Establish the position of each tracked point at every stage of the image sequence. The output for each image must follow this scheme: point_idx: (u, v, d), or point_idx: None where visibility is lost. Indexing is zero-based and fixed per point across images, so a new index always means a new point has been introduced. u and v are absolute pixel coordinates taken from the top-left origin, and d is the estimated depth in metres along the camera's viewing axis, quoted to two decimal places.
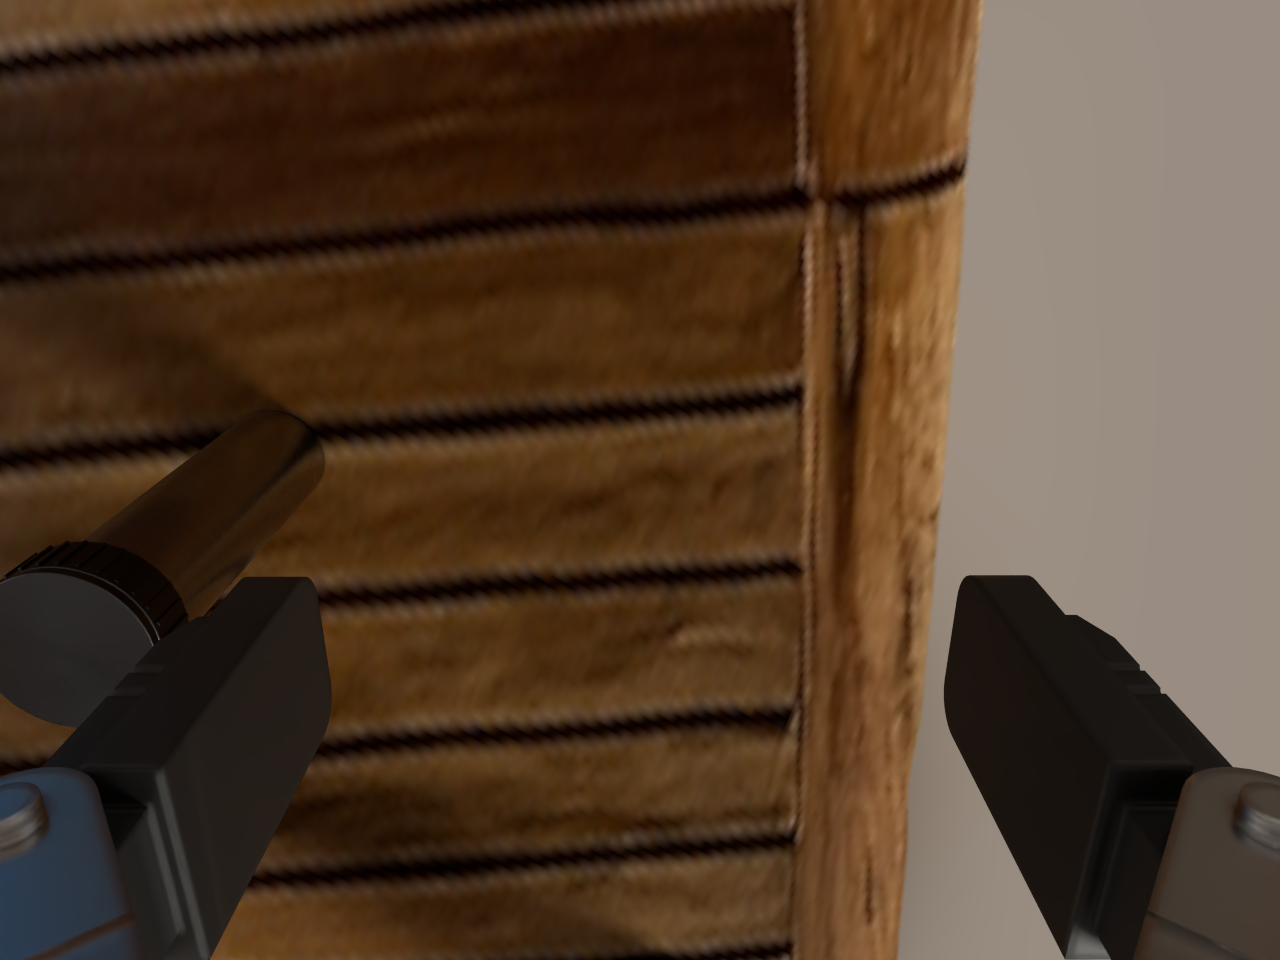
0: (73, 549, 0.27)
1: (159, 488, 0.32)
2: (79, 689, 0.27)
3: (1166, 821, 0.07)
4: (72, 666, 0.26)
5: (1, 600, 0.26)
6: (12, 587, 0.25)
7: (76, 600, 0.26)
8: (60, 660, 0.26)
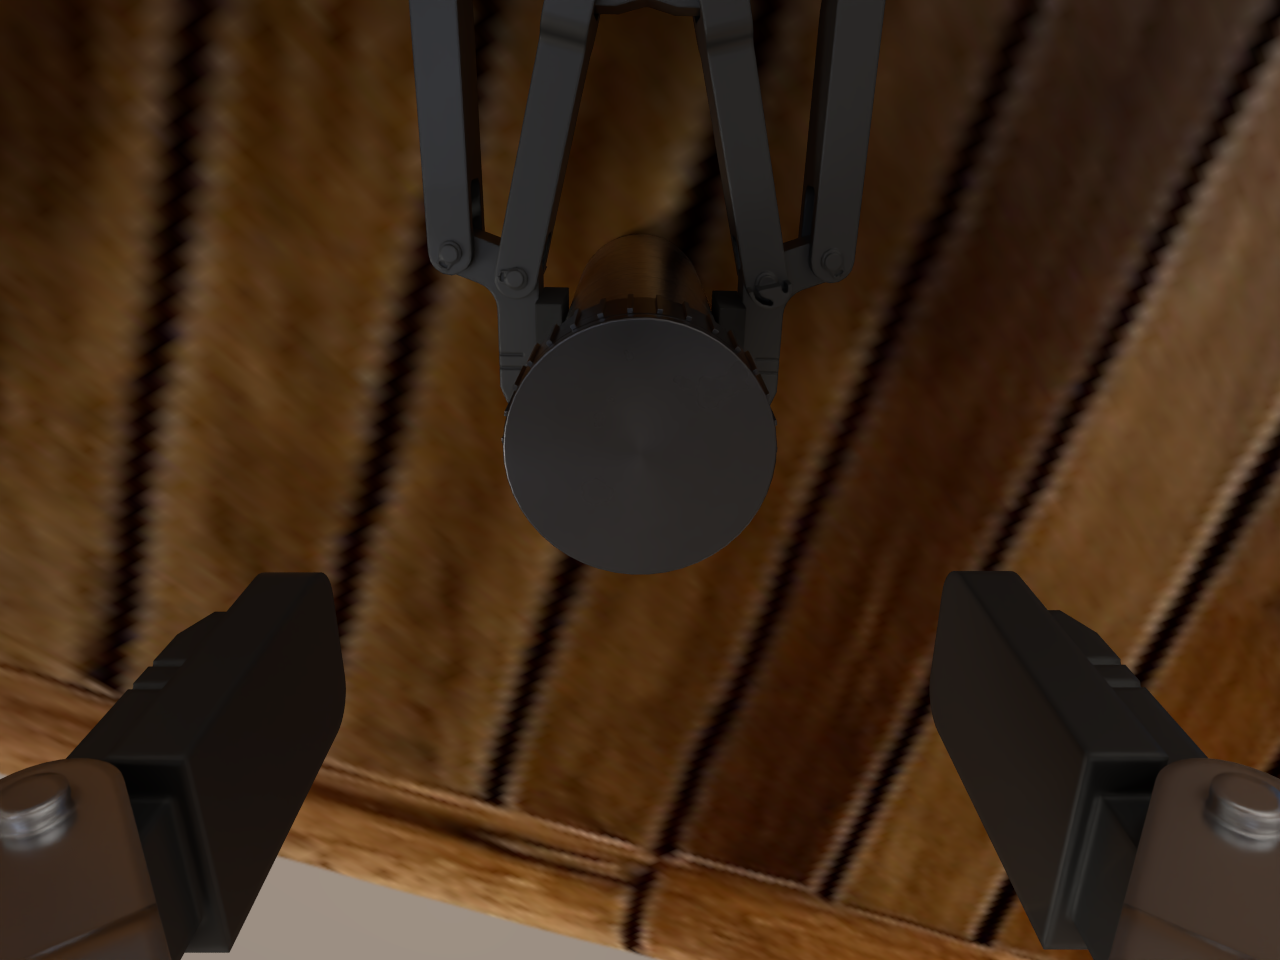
0: None
1: None
2: (577, 435, 0.17)
3: (1141, 812, 0.07)
4: (616, 450, 0.17)
5: (753, 427, 0.17)
6: (762, 453, 0.17)
7: (705, 518, 0.18)
8: (632, 441, 0.17)
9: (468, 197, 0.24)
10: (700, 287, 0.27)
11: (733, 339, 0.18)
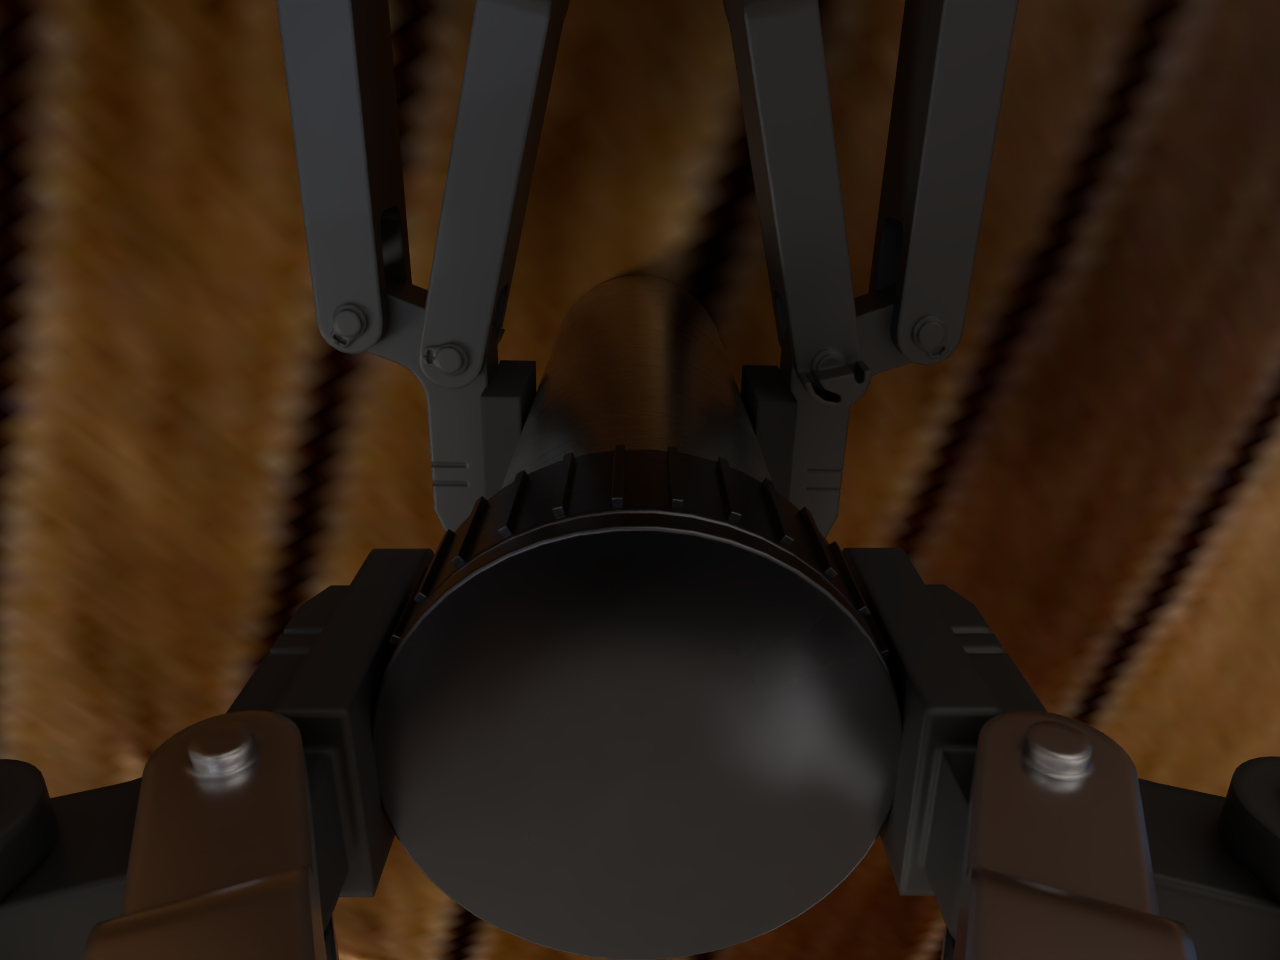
0: None
1: None
2: (515, 738, 0.09)
3: None
4: (591, 763, 0.09)
5: (860, 725, 0.09)
6: (876, 768, 0.09)
7: (762, 874, 0.10)
8: (622, 747, 0.09)
9: (374, 238, 0.16)
10: (725, 362, 0.19)
11: (816, 539, 0.09)
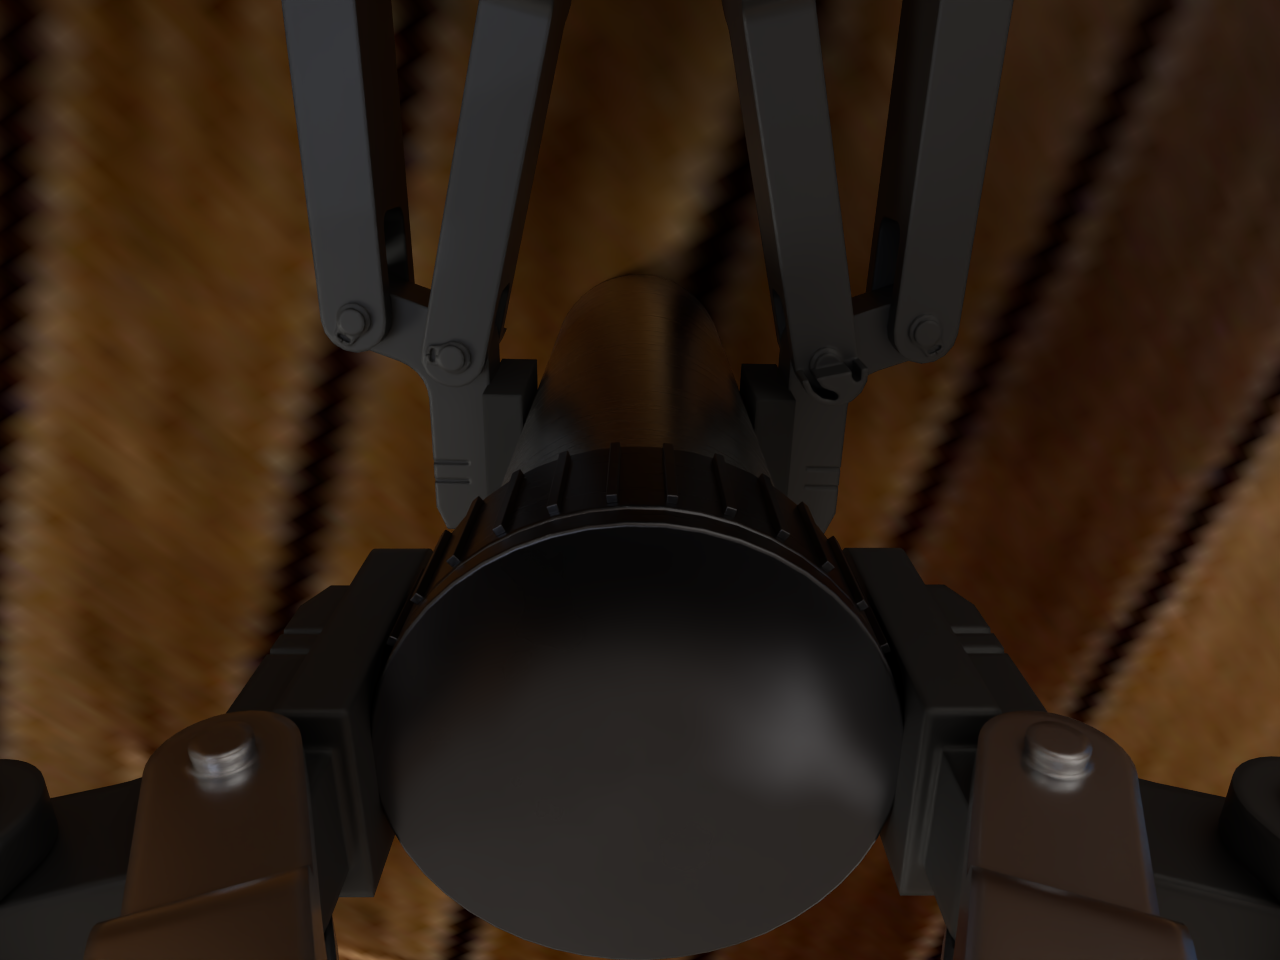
0: (814, 527, 0.09)
1: None
2: (569, 848, 0.09)
3: None
4: (617, 799, 0.09)
5: (650, 566, 0.08)
6: (713, 560, 0.08)
7: (815, 693, 0.09)
8: (608, 771, 0.09)
9: (378, 238, 0.16)
10: (724, 359, 0.19)
11: (503, 504, 0.09)
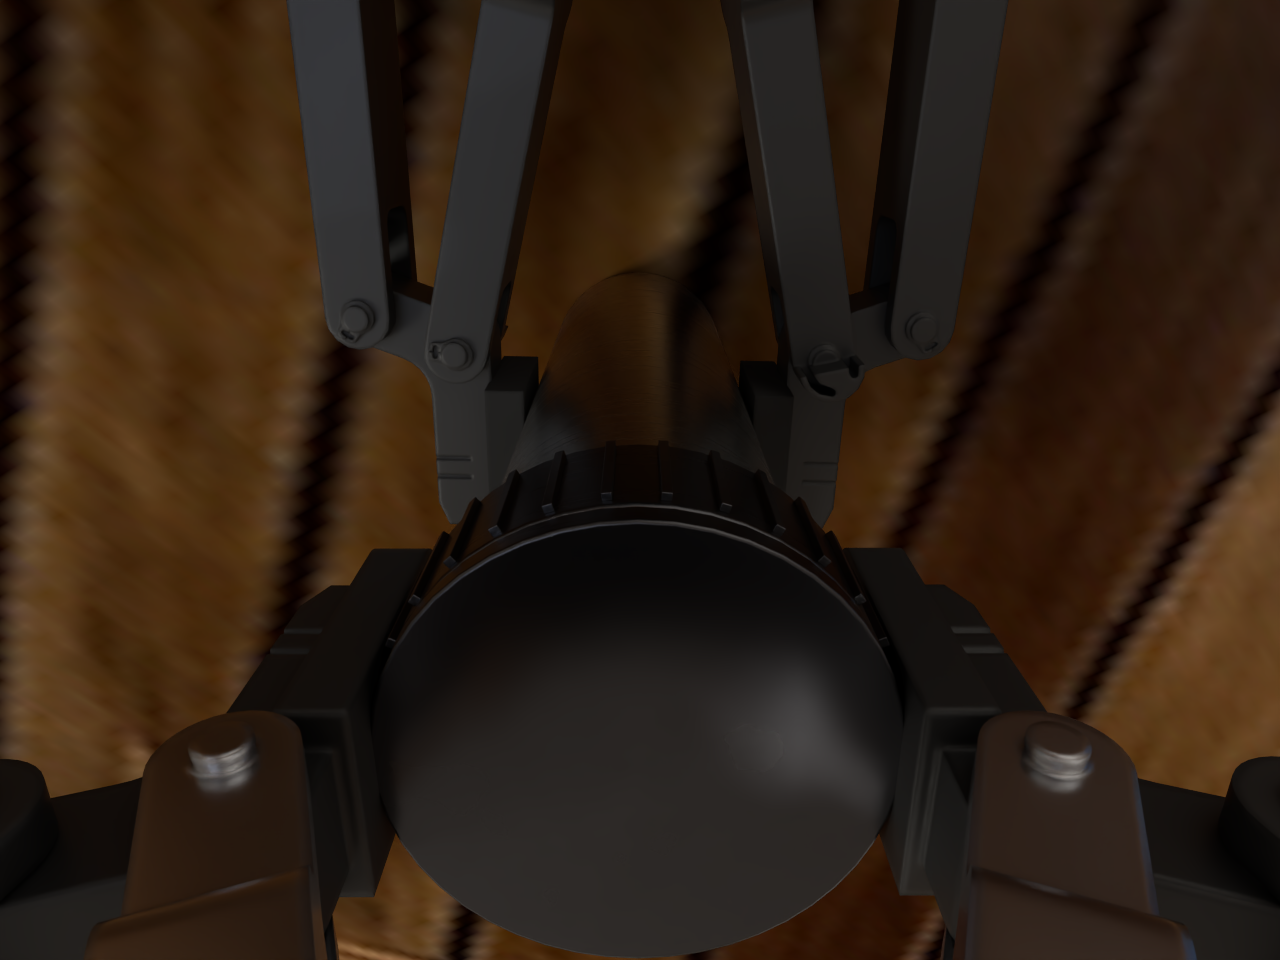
0: (504, 493, 0.09)
1: None
2: (714, 840, 0.09)
3: None
4: (671, 789, 0.09)
5: (417, 701, 0.09)
6: (425, 650, 0.08)
7: (601, 596, 0.08)
8: (634, 788, 0.09)
9: (382, 236, 0.16)
10: (724, 356, 0.19)
11: None
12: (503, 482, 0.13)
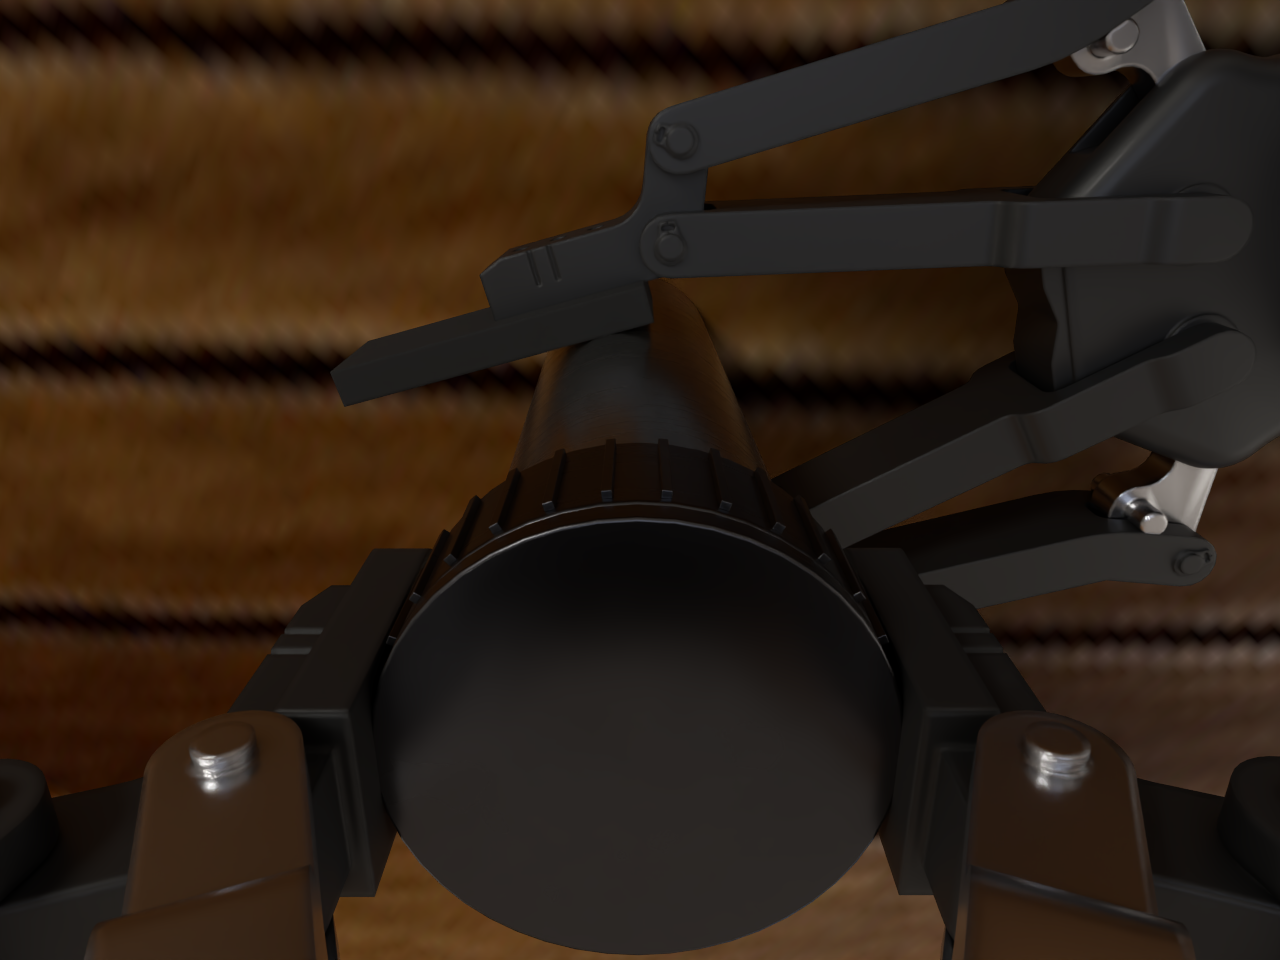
0: (504, 491, 0.09)
1: None
2: (714, 837, 0.09)
3: None
4: (671, 786, 0.09)
5: (418, 699, 0.09)
6: (426, 647, 0.08)
7: (602, 593, 0.08)
8: (635, 785, 0.09)
9: (765, 149, 0.17)
10: None
11: None
12: (671, 401, 0.13)
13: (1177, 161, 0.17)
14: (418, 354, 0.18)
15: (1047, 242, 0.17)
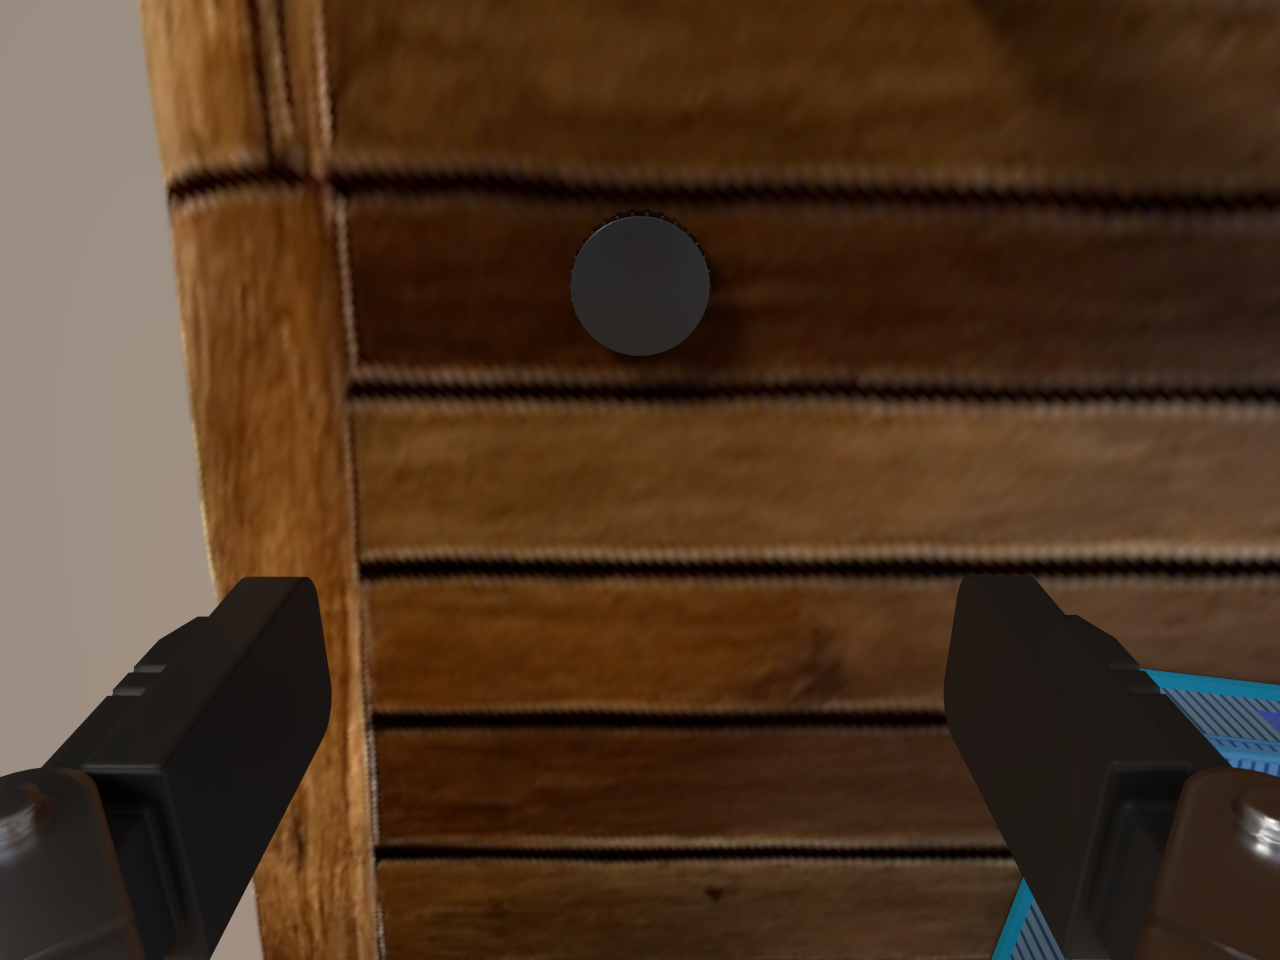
0: (604, 220, 0.35)
1: None
2: (660, 313, 0.35)
3: (1166, 821, 0.07)
4: (648, 296, 0.34)
5: (584, 267, 0.34)
6: (587, 252, 0.34)
7: (631, 237, 0.34)
8: (639, 296, 0.34)
9: None
10: None
11: None
12: None
13: None
14: None
15: None
